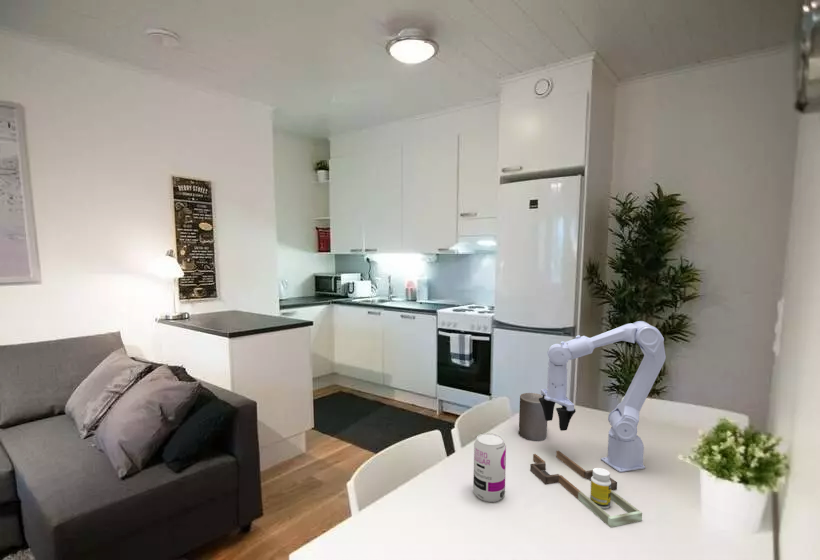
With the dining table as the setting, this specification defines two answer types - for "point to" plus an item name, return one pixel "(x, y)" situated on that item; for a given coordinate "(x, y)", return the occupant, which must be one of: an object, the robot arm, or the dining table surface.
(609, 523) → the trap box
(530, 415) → the pillar candle
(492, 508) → the dining table surface
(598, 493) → the supplement bottle
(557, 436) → the dining table surface
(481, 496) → the supplement can
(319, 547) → the dining table surface
